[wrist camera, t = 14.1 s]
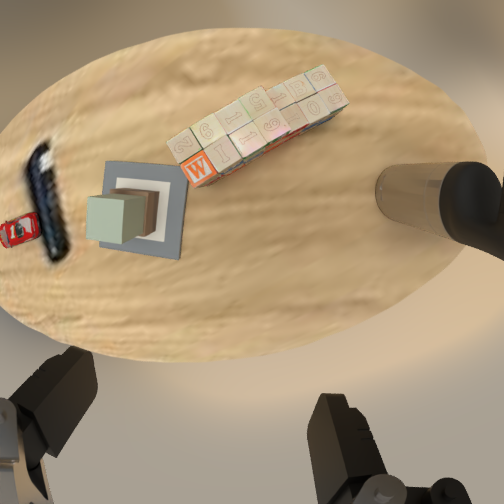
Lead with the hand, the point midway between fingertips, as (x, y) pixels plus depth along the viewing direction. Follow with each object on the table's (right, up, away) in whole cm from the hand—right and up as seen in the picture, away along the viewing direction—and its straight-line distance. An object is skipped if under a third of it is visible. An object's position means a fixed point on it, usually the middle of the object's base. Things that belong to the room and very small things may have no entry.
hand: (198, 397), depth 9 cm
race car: (-44, +9, +35) cm, 57 cm away
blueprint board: (-15, +12, +34) cm, 39 cm away
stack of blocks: (+3, +22, +31) cm, 39 cm away
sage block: (-15, +10, +28) cm, 33 cm away
